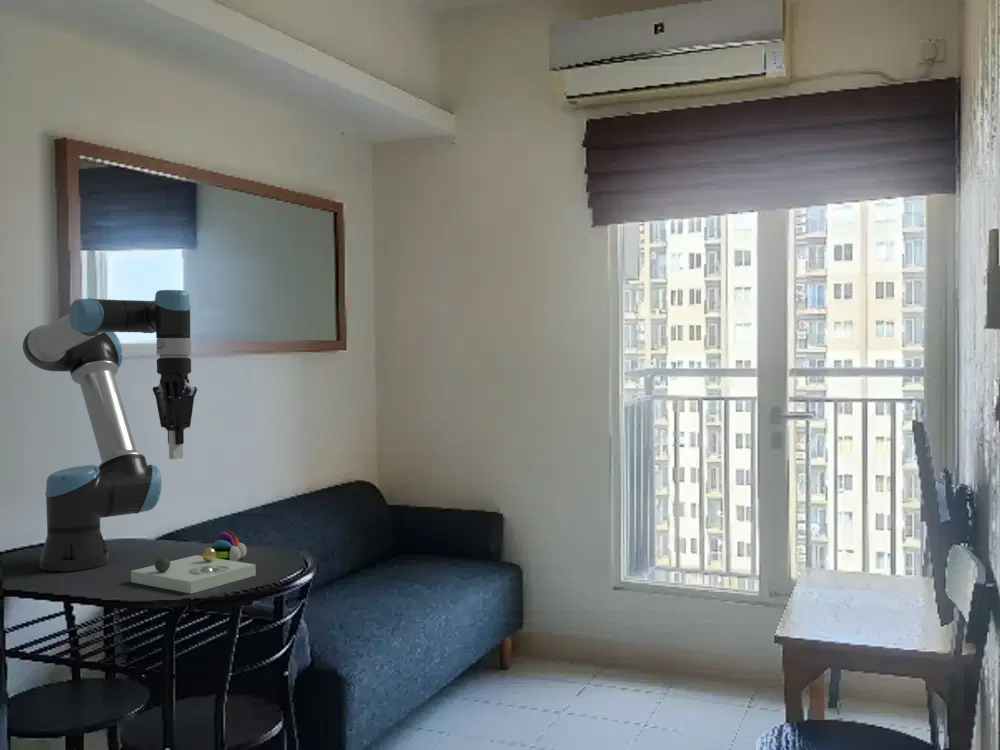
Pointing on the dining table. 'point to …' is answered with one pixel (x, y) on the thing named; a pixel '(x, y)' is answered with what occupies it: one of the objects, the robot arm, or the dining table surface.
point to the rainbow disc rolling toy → (228, 546)
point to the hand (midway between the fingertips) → (176, 458)
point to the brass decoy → (208, 554)
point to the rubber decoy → (162, 564)
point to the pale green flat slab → (193, 574)
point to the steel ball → (207, 570)
